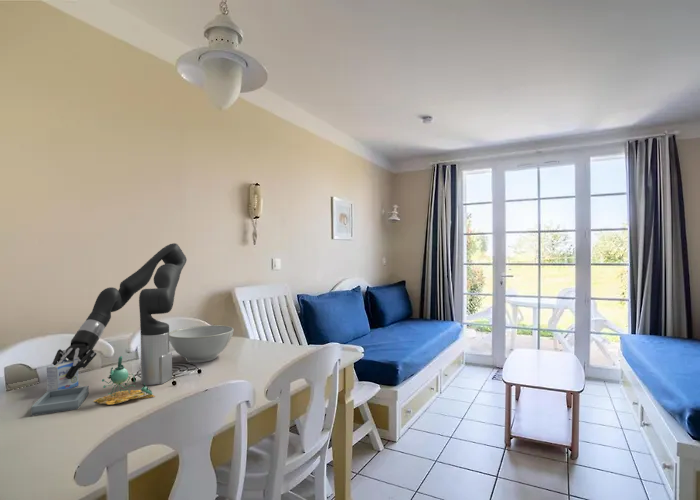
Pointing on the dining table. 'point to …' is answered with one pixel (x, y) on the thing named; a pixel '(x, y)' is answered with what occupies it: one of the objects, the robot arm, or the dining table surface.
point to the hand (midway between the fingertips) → (60, 377)
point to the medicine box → (60, 377)
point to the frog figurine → (118, 378)
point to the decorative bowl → (200, 341)
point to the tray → (60, 400)
